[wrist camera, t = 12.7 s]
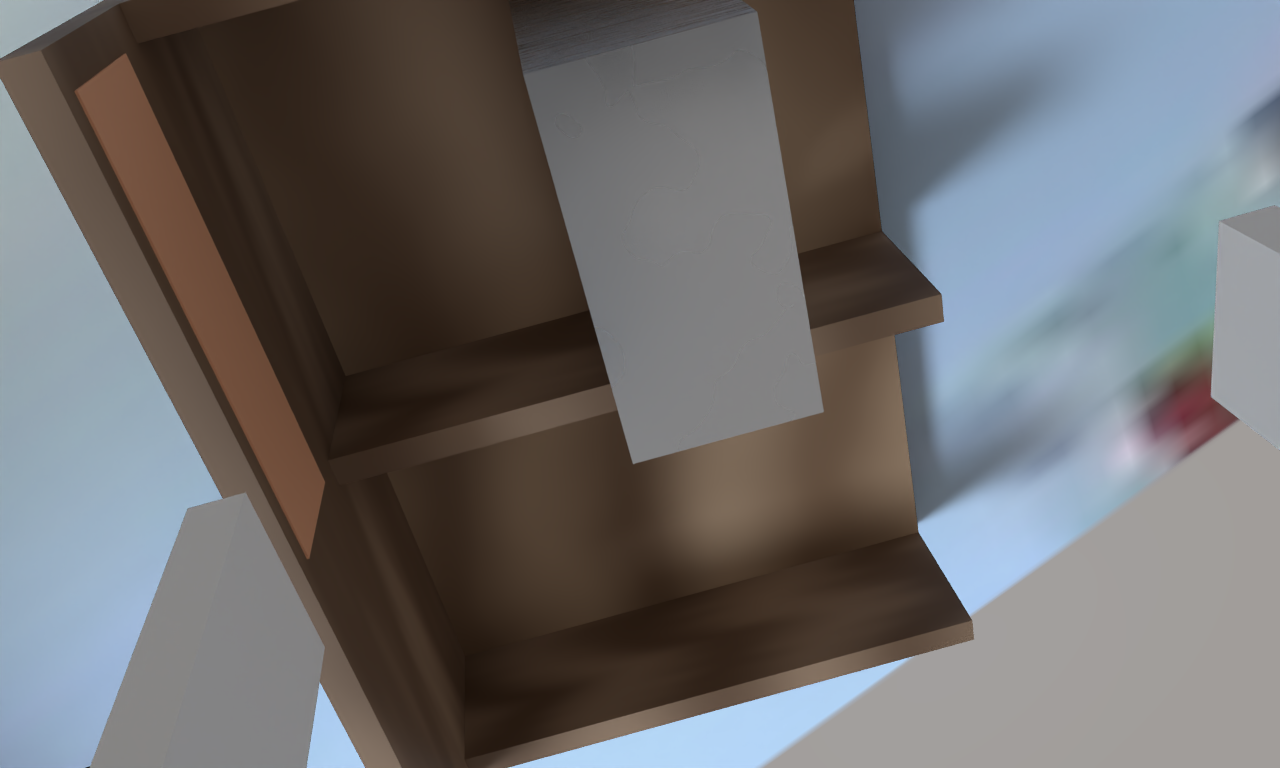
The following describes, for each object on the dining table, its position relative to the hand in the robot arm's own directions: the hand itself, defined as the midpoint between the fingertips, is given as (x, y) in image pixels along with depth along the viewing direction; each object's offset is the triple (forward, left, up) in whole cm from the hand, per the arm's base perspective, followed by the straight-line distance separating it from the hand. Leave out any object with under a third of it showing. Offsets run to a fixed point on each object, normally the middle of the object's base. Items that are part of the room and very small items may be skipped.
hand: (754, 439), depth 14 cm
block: (0, 0, -16) cm, 16 cm away
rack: (-1, -6, -17) cm, 18 cm away
